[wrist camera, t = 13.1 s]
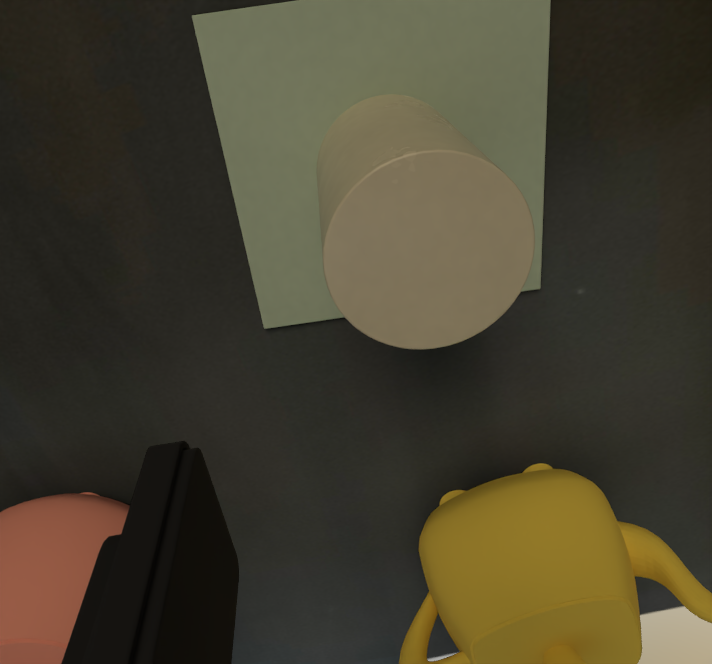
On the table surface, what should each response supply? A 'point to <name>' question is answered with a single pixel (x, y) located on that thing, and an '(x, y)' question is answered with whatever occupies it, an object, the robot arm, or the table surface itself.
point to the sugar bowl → (49, 570)
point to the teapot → (540, 574)
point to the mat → (348, 87)
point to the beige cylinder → (417, 226)
